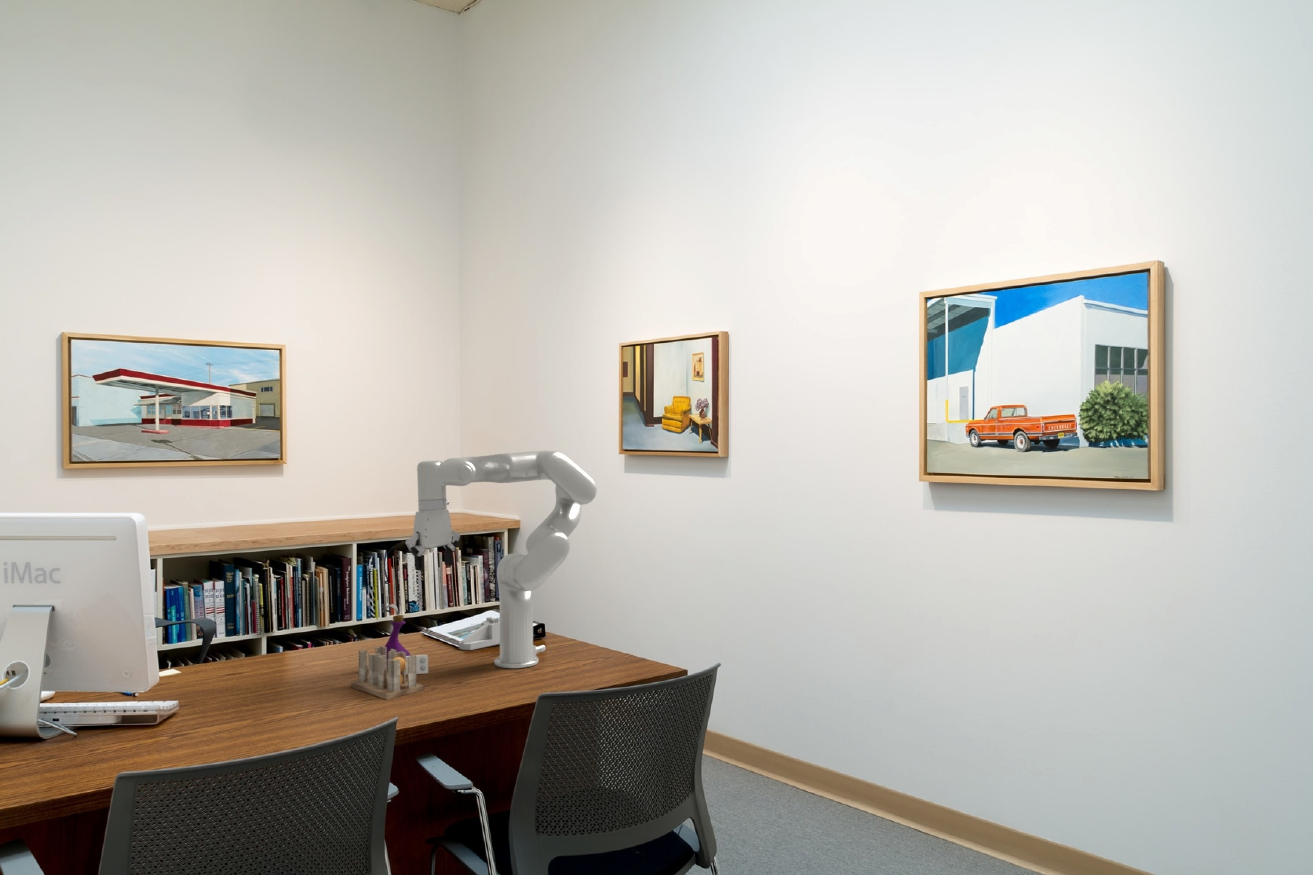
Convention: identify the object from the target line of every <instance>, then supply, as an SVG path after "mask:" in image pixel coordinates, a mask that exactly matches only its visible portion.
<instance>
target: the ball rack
mask: <svg viewBox="0 0 1313 875" xmlns="http://www.w3.org/2000/svg"><path fill="white" fill-rule="evenodd" d="M409 656H410V657H408V675H406V667H405V669H404V670H403V671H402V672H400V659H397V660H393V659H394V658H396V657H401V658H403V659H404V660H405V661H406V653H405V652H397V650H394V649H390V651H388V670H387V647H385V646H383V645H381V646H377V647H374V654H373V653H368V649H362V650H358V680H356V681H352V682H350V688H353V689H356V690H358V691H361V692H363V693H367V694H369V695H372V696H376V697H378V698H381V699H385V700H391V699H395V698H398V697H402V696H406V695H410V694H412V693H417V692H421V691H424V690H425V685H424V684H421V683H418V682H417V674H416V655H415V654H412V653H410V655H409ZM400 674H402V676H403V683H402V685H401V686H400ZM387 679H388V682H387Z"/></svg>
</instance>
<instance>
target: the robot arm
mask: <svg viewBox="0 0 1313 875" xmlns="http://www.w3.org/2000/svg"><path fill="white" fill-rule="evenodd" d="M416 467H417V468H416V471H417V472H416V473H417V474H416V475H417V476H416V477H417V498H418V500H417V502H418V504H417V505H418V511H415V515H414V521H413V532H412V533H413V534H412V536H410V537H409V538H408V539H406V540H405V545H406V547H407V549H408V551H409V552H410V553H411V555H412V556H414V557H413V558H414V559H413V560H414V569H415V571H420V572H422V571H425V556H424V555H423V553H424V552H425V550H426V549H430V548H438V547H443V548H444V549H445V550H444V552H443V557H444V558H443V559H444V562H443V563H444V565H445V566H454V552H455V551H456V547H457V546H458V544H459V541H460V538H461V534H460V533H459V532H457V531H455V530H453V528H452V521H451V516H450V512H449V509H447V506H449V505H450V500H449V499H447V486H451V487H452V486H453V487H455V486H456V487H465V486H468V485H469V484H471V483H498V484H509V483H520V482H532V481H544V480H548V481H551V482H552V483H554V484H555V488H554V490H555V506H554V508H553V509H552V511H551V512H550V513H549V515H548V516H547V517H546V518H545V519H544V520H543V521H542V522H541V523H540V524H539V525H538V526H537V527H536V528H535V529H534V530H533V531H532V532H531V533H529V535H528V536H527V538H526V542H525V549H526V551H527V553H526V554H521V553H517V552H516V553H509V554H507V555H505V556H504V557H502V558H501V560H500V561H499V562H498V564H497V570H496V577H497V578H496V579H497V584H498V585H497V586H498V594H499V618H500V644H499V656H498V657H497V658H496V657H495V659H494V661H493V662H494V665H495V666H497V667H499V668H504V669H522V668H523V669H524V668H528V667H529V668H530V667H533V666H536V665H538V663H539V660H540V659H539V657H538V656H537V654H538V653H542V652H546V649H547V648H546V646H545V645H544V644H541V645H538V646H536V644H535V645H534V598H533V597H534V596H533V591H534V590H536V589H538V588H539V587H541V585H543V584H544V582H546V581H547V580H548V578H549V577H550V576H552V575H553V573H554V572H555V571H556V570H557V569H558V568H559V567H560V566H561V565H562V564H563V563H564V562H565V560H566V559H567V557H568V555H569V554H570V550H571V549H570V548H571V547H570V546H571V545H570V544H571V543H570V540H569V536H571V534H572V533H573V532H574V530H575V529H576V528H577V527H578V525H579V522H581V521H580V520H581V516H582V507H583V506H582V505H588V504H590V503H591V502H592V501H594V499H595V497H596V496H597V491H598V490H597V485H596V483H595V482H596V481H594V480H593V478H592V477H591V476H590V475H588V473H586V472H585V471H584V470H583V469H582V468H581V467H579V466H578V464H576V463H575V462H573V461H572V460H571V459H570V458H569V457H568V456H566V454H564V453H562V452H561V451H558V450H557V451H556V450H534V451H520V452H506V453H498V454H497V453H496V454H489V455H479V456H477V455H476V456H468V457H467V456H463V457H453V458H452V457H451V458H447V459H445V460H443V461H442V460H423V461H420V462H419V463H418V464H417V466H416Z"/></svg>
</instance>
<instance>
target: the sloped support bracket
mask: <svg viewBox="0 0 1313 875" xmlns="http://www.w3.org/2000/svg"><path fill="white" fill-rule="evenodd" d="M480 624H481V626H480V627H478V628H477V629H476V630H475V631H473V632H471V633H470V634H468V635H467V636H466V637H465V638H463V639H461V640H459V641H458V650H462V651H474V650H478V649H483V648H487V647H490V646H496V645H500V617H499V618H495V617H492V616H488V617H486V620H484V621H482V622H481V623H480Z"/></svg>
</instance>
